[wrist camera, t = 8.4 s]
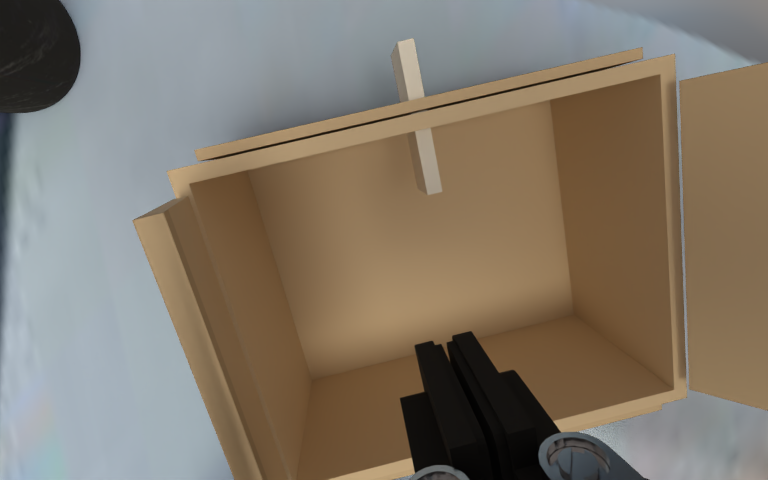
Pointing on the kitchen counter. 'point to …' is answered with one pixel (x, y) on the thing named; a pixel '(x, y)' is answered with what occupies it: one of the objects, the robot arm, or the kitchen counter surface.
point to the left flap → (209, 338)
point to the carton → (453, 253)
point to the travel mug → (36, 54)
